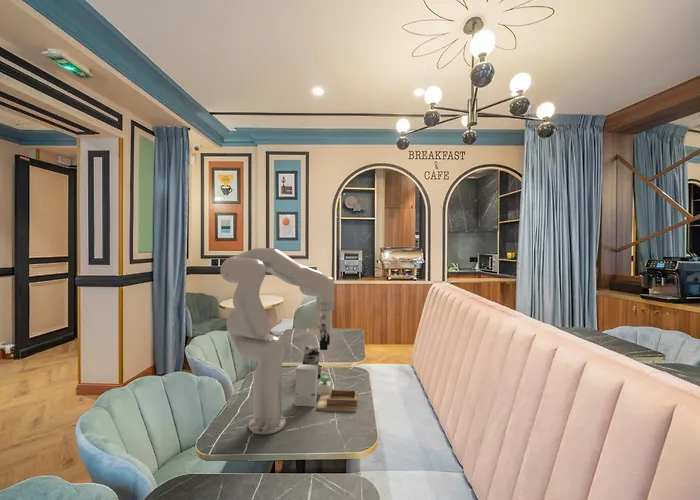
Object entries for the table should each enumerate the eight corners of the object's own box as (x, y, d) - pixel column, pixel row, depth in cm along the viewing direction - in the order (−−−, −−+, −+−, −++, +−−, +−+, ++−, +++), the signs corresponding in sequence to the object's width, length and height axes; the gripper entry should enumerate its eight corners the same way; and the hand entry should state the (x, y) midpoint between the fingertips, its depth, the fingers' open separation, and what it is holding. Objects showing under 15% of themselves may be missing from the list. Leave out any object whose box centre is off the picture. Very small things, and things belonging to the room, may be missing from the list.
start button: (328, 391, 148) (328, 378, 148) (319, 390, 148) (320, 378, 148) (329, 387, 152) (329, 375, 152) (321, 387, 152) (321, 375, 152)
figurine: (301, 382, 161) (301, 350, 161) (302, 373, 172) (302, 343, 172) (320, 382, 162) (321, 350, 161) (320, 373, 173) (321, 343, 173)
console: (329, 395, 147) (329, 386, 147) (318, 395, 148) (318, 385, 148) (331, 390, 152) (331, 381, 152) (319, 390, 153) (319, 381, 152)
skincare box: (294, 406, 137) (294, 368, 137) (297, 399, 143) (297, 363, 143) (315, 407, 136) (315, 369, 136) (317, 400, 143) (318, 364, 142)
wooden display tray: (356, 411, 133) (356, 402, 133) (316, 410, 134) (316, 401, 134) (357, 396, 146) (357, 388, 146) (321, 395, 147) (321, 387, 147)
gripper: (331, 309, 141) (331, 353, 141) (335, 302, 158) (335, 341, 158) (313, 309, 141) (312, 353, 141) (319, 302, 158) (319, 341, 159)
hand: (324, 346), depth 150 cm, fingers open, 7 cm apart
